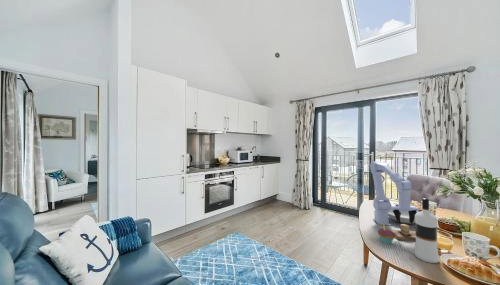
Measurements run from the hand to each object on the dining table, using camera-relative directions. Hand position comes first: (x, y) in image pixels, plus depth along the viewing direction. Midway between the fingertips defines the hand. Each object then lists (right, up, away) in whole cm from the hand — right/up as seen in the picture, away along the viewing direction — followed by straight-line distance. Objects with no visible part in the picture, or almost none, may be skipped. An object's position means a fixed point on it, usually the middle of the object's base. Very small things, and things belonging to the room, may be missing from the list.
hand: (404, 222), depth 119 cm
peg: (0, -9, 0) cm, 9 cm away
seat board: (+3, -9, 0) cm, 9 cm away
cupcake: (-15, -9, -5) cm, 18 cm away
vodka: (-7, -9, -22) cm, 24 cm away
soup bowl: (+17, -9, +23) cm, 30 cm away
